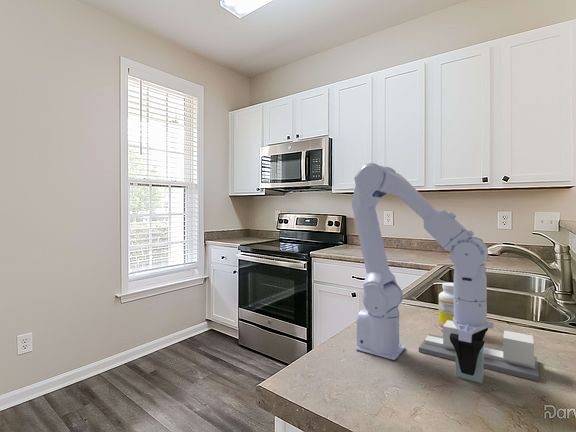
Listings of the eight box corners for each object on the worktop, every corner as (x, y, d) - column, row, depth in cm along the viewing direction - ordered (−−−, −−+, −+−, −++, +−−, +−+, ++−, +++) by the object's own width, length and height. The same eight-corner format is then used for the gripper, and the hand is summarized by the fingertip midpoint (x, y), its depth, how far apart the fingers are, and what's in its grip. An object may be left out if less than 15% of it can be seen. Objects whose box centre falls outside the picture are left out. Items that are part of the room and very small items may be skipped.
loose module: (455, 376, 62) (455, 346, 62) (458, 368, 65) (458, 339, 65) (482, 383, 59) (482, 352, 59) (484, 374, 63) (484, 345, 63)
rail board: (418, 351, 73) (418, 325, 73) (428, 337, 81) (428, 313, 81) (539, 381, 60) (539, 349, 60) (536, 361, 68) (536, 332, 68)
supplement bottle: (457, 325, 89) (456, 281, 89) (471, 335, 83) (471, 286, 82) (434, 326, 89) (434, 281, 89) (446, 335, 82) (446, 287, 82)
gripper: (490, 311, 54) (491, 388, 54) (496, 293, 66) (496, 357, 66) (445, 304, 58) (446, 376, 58) (458, 288, 70) (458, 348, 70)
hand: (470, 365), depth 62 cm, fingers open, 7 cm apart
